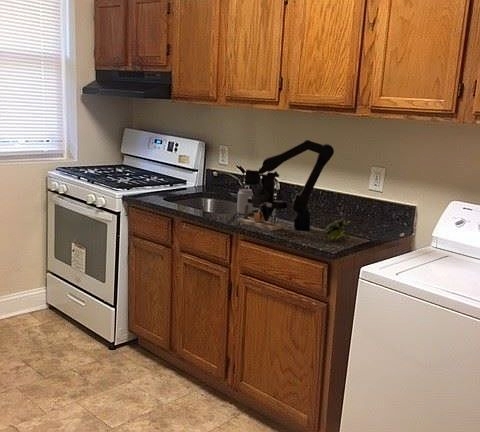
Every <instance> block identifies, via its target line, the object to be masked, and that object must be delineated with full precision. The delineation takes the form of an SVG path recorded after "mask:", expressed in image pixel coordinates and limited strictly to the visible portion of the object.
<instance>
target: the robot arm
mask: <svg viewBox="0 0 480 432" xmlns="http://www.w3.org/2000/svg"><path fill="white" fill-rule="evenodd" d="M306 151H310V152H313V153H316V154H317V157H316V161H315V163H314V165H313V168H312V169H311V172H310V174H309V176H308V178H307V180H306V182H305V184H304V186H303V188H302V190H301V192H296V193H295V196H294V198H292V208H293V211H294V212H295V213H297V214H296V216H295V217H294V222H293V223H294V224H293V227H294V230H295V231H305V232H310V230H311V218H312V216H311V214H312V213H311V209H310V208H309V207H308V203H309V199H310V196H311V193H312V191H313V189H314V187H315V185H316V183H317V181H318V180H319V177H320V175H321V173H322V171H323V170H324V168H325V166H326V164H328V162H329V161H330V160H331V158H332V157H333V155H334V153H335V150H334V148H333V146H332V145H331V144H329V143H323V144H321V143H317V142H314V141H311V140H309V139H305V140H304V141H303V142H301V143H299V144H297V145H295V146H293V147H291V148H290V149H287V150H286V151H283V152H281V153H279V154H276V155H271V156H268V157H266V158H264V160H263V162H262V165H261V167H260V168H258V170H252V169H246V170H245V176H244V185H245V186H255V187H258V186H259V185H260V184H261V186H260V187H261V188H259V189H258V192H257V193H255V194H253V196H249V198H248V203H252V205H256V207H258V209H259V208H260V209H261V211H262V214H263V217H264V221H267V222H269V219H270V217H271V215H272V214H273V212H274V210H281V209H288V203H287V201H285V200H276V197H275V192H277V189H276V188H275V185H276V178H279V177H280V174H279V173H278V171H277V170H276V169H277V168H278V167H280V166H281V165H282V164H284V163H285V162H287V161H289V160H291V159H293V158H294V157H297V156H298V155H300V154H303V153H304V152H306ZM274 170H275V171H274ZM273 171H274V172H273ZM266 172H267V173H266ZM265 173H266V174H265Z"/></svg>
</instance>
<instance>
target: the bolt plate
mask: <svg viewBox="0 0 480 432" xmlns="http://www.w3.org/2000/svg"><path fill="white" fill-rule="evenodd" d="M236 222H237V223H240V224H244V225H248V226H250V227H251V226H252V227H255V228H259V229H263V230H268V231H271V232H272V231H277V230H281V229H283V224H278V223H274V222H270V221H264V222H256V221H254V217H250V216H249V214H248V204H245V205H244V214H243V217H240V218H237V219H236Z"/></svg>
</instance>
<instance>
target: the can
mask: <svg viewBox="0 0 480 432" xmlns="http://www.w3.org/2000/svg"><path fill="white" fill-rule="evenodd" d="M238 190H239V191H238V192H237V205H236V206H237V208H236V212H237V213H238V214H240V215H244V205H245V204H248V215H250V214H252V213H253V204H252V203H248V198H249V196H253V195H254V192H253V190H252V189H250V188H239V189H238Z"/></svg>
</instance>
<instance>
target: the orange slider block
mask: <svg viewBox="0 0 480 432" xmlns="http://www.w3.org/2000/svg"><path fill="white" fill-rule="evenodd" d="M253 218H254V221H256V222H264V217H263V214H262V211H261V209H260V208H259V207H258V212H254V214H253Z"/></svg>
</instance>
